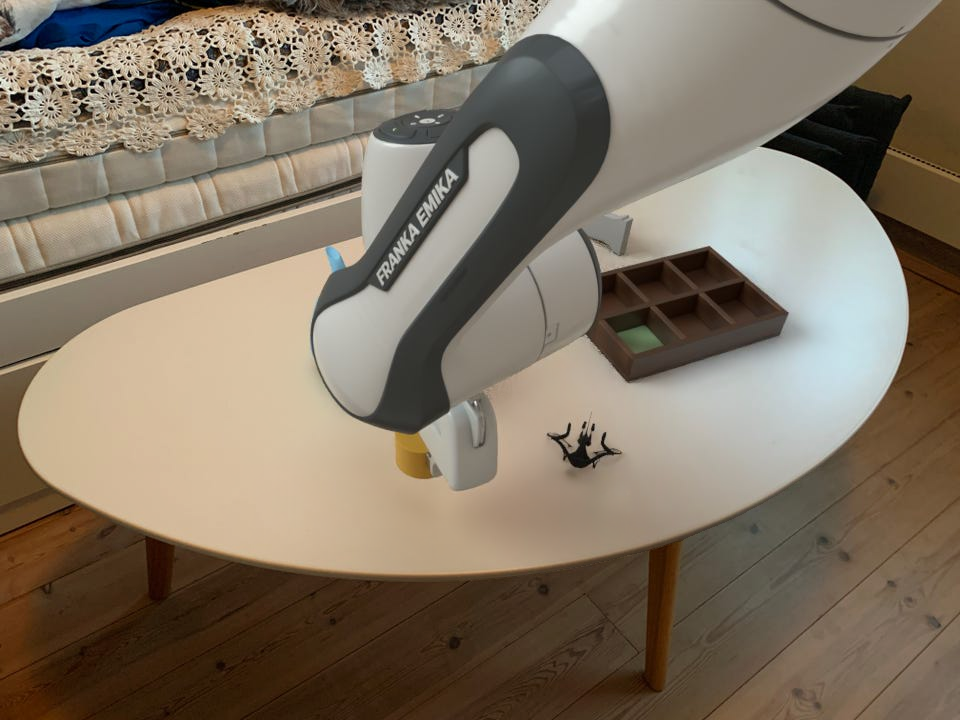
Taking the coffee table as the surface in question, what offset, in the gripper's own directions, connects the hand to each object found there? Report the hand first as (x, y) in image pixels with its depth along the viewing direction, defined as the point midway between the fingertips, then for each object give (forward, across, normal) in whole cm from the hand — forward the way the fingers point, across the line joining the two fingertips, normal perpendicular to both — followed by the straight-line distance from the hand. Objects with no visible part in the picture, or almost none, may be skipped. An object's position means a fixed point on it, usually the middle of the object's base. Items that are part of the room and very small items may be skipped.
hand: (423, 443), depth 68 cm
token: (+2, 0, 0) cm, 2 cm away
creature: (+9, 0, -18) cm, 20 cm away
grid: (+8, +14, -39) cm, 43 cm away
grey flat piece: (+8, +33, -40) cm, 53 cm away
